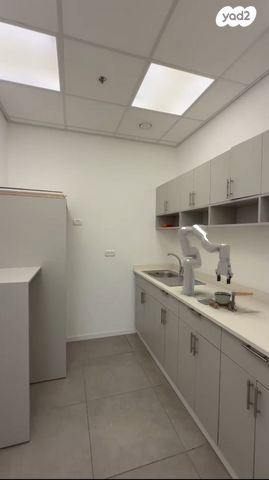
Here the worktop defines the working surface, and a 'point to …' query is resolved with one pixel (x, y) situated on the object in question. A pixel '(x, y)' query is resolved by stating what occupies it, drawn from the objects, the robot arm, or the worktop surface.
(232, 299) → the wooden blocks
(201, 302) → the mat
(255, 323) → the worktop surface
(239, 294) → the tall wooden post
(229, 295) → the food container
